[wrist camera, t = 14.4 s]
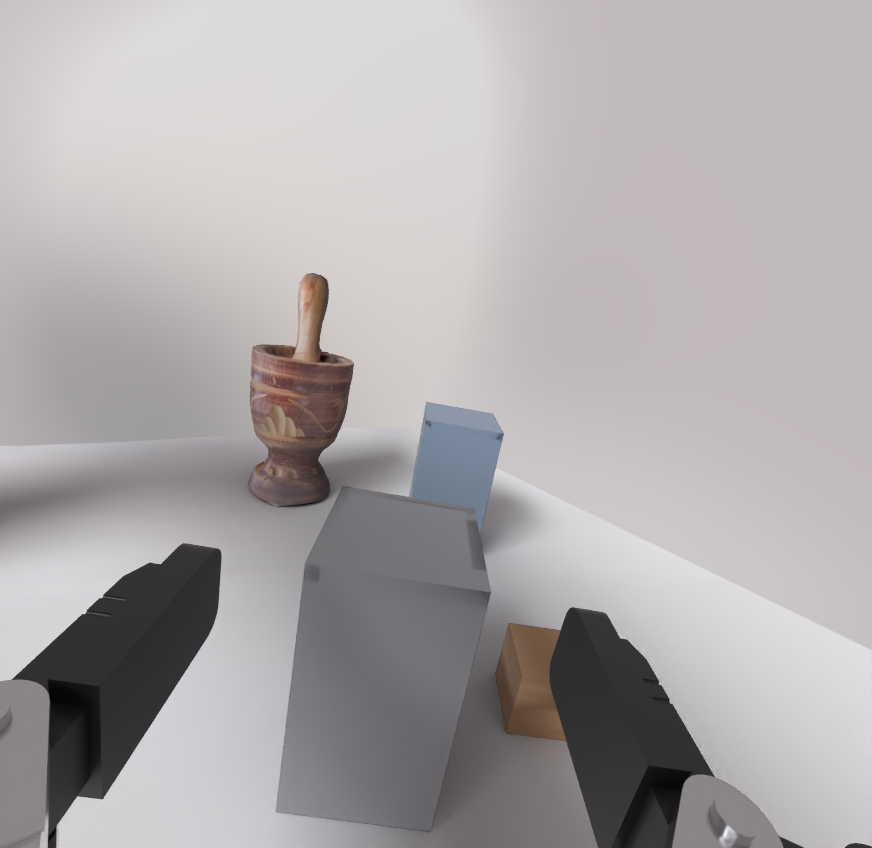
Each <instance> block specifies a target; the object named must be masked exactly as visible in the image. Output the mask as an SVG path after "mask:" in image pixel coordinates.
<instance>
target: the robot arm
mask: <svg viewBox="0 0 872 848" xmlns="http://www.w3.org/2000/svg"><path fill="white" fill-rule="evenodd" d="M220 571H221V551H220V550H219V549H217V548H210V547H204V546H198V545H192V544H186V543H184V544H181V545H180V546H179V547H178V548H177V549H176V550H175V551H174V552H173V553H172V554H171V555H170V556H169V557H168V558H167V559H166V560H165V561H164V562H163V563H162V564H161V565H160V564H154V563H148V564H146V565H144V566H142V567H140V568H139V569H137V570H135V571H133V572H131V573H129V574H127V575H125V576H123V577H122V578H121V579H120V580H119V581H118V582H117V583H116V584H114V585H113V586H112V587H111V588H110V589H109V590H108V591H107V592H106V593H105V594H104V596H103V598H102V599H101V598H99V599H98V600H97V601H96V602H95V603H94V604H93V605H92V606H91V607H90V608H89V609H88V610H87V612H86V614H82V615H81V616H80V617H79V618H78V619H77V620H76V621H75V622H73V623H72V624H71V625H70V626H69V627H68V628H67V629H66V630H65V631H64V632H63V633H62V634H61V635H59V636H58V637H57V638H56V639H55V640H54V641H53V642H52V643H51V644H50V645H49V646H48V647H47V648H45V649H44V650H43V651H42V652H41V653H40V654H39V655H38V656H37V657H36V658H35V659H34V660H32V661H31V662H30V663H29V664H28V665H27V666H26V667H25V668H24V669H23V670H22V671H21V672H20V673H18V674H17V675H16V676H15V677H14V678H13V679H12V680H7V681H0V848H58V840H59V828H58V823H59V822H60V820H61V819H62V817H63V816H64V814H65V813H66V812H67V810H68V809H69V807H70V806H71V804H72V803H73V802H74V800H75V799H76V797H77V796H80V797H88V798H96V799H103V798H104V796H105V795H106V793H107V792H108V790H109V789H110V787H111V786H112V784H113V782H114V781H115V779H116V778H117V776H118V775H119V773H120V772H121V770H122V769H123V767H124V765H125V764H126V762H127V761H128V759H129V758H130V756H131V755H132V753H133V752H134V750H135V748H136V747H137V745H138V744H139V742H140V741H141V739H142V738H143V736H144V735H145V733H146V731H147V730H148V728H149V727H150V725H151V724H152V722H153V721H154V719H155V718H156V716H157V714H158V713H159V711H160V710H161V708H162V707H163V705H164V704H165V702H166V700H167V699H168V697H169V696H170V694H171V693H172V691H173V690H174V688H175V687H176V685H177V683H178V682H179V680H180V679H181V677H182V676H183V674H184V673H185V671H186V670H187V668H188V666H189V665H190V663H191V662H192V660H193V659H194V657H195V656H196V654H197V653H198V651H199V649H200V648H201V646H202V645H203V643H204V642H205V640H206V639H207V637H208V635H209V633H210V631H211V629H212V627H213V624H214V621H215V618H216V615H217V610H218V601H219V586H220ZM549 678H550V687H551V691H552V694H553V698H554V701H555V704H556V708H557V711H558V714H559V718H560V721H561V725H562V728H563V731H564V735H565V738H566V741H567V745H568V748H569V751H570V755H571V758H572V761H573V765H574V768H575V771H576V775H577V778H578V781H579V785H580V788H581V791H582V795H583V798H584V801H585V805H586V808H587V811H588V815H589V818H590V821H591V825H592V828H593V831H594V835H595V838H596V842H597V845H598V848H803V847H801V846H799V845H797V844H795V843H792V842H790V841H788V840H786V839H784V838H782V837H780V836H778V834H777V832H776V831H775V829H774V827H773V826H772V824H771V823H770V822H769V820H768V819H767V818H766V816H765V815H764V814H763V813H762V812H761V811H760V809H759V808H758V807H757V806H756V805H755V804H754V803H753V802H752V801H751V800H750V799H748V798H747V797H746V796H745V795H744V794H743V793H741V792H740V791H739V790H737V789H736V788H734V787H733V786H731V785H730V784H728V783H726V782H724V781H722V780H720V779H718V778H715V777H714V775H713V773H712V772H711V770H710V768H709V766H708V765H707V763H706V761H705V759H704V758H703V756H702V754H701V753H700V751H699V749H698V747H697V746H696V744H695V742H694V741H693V739H692V737H691V735H690V734H689V732H688V730H687V729H686V727H685V725H684V723H683V722H682V720H681V718H680V717H679V715H678V713H677V711H676V710H675V708H674V706H673V704H670V703H669V700H670V699H669V698H668V696H667V694H666V692H665V691H664V689H663V687H662V686H661V685H659V680H658V679H657V677H656V675H655V674H654V672H653V670H652V668H651V667H650V665H649V663H648V661H647V660H646V659H645V658H644V657H643V656H642V655H641V654H640V653H639V651H638V650H637V649H636V648H635V647H634V646H633V645H632V644H631V643H630V642H629V641H628V640H625V639H620V638H619V636H618V634H617V632H616V630H615V628H614V627H613V625H612V623H611V621H610V619H609V617H608V616H607V615H606V614H605V613H604V612H598V611H592V610H586V609H580V608H573V607H572V608H570V609H569V610H568V612H567V614H566V616H565V619H564V622H563V625H562V628H561V631H560V634H559V637H558V640H557V643H556V646H555V649H554V652H553V655H552V658H551V662H550V670H549ZM845 848H872V847H871V846H868V845H864V844H859V843H853V844H849V845H847V846H846V847H845Z"/></svg>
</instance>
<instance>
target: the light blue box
mask: <svg viewBox="0 0 872 848" xmlns="http://www.w3.org/2000/svg"><path fill="white" fill-rule="evenodd" d="M503 435H504V433H503V431H502V429H501V428H500V426H499V424H498V422H497V420H496V418H495V416H494V415H493V414H492V413H485V412H480V411H475V410H469V409H463V408H458V407H451V406H446V405H441V404H434V403H428V402H426V407H425V413H424V418H423V424H422V429H421V434H420V440H419V445H418V451H417V456H416V462H415V467H414V473H413V478H412V484H411V489H410V495H409V497H411V498H417V499H423V500H429V501H435V502H441V503H447V504H453V505H459V506H465V507H471V508H475V513H476V518H477V523H478V529H479V534H480V533H481V528H482V524H483V520H484V516H485V511H486V507H487V503H488V499H489V494H490V490H491V486H492V482H493V477H494V473H495V469H496V465H497V460H498V456H499V452H500V447H501V443H502V439H503Z"/></svg>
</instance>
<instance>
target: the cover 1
mask: <svg viewBox="0 0 872 848" xmlns="http://www.w3.org/2000/svg"><path fill="white" fill-rule="evenodd" d="M490 593H491V591H490V586H489V581H488V576H487V570H486V565H485V560H484V555H483V549H482V544H481V539H480V534H479V529H478V523H477V518H476V513H475V508H471V507H465V506H459V505H453V504H447V503H441V502H435V501H429V500H423V499H417V498H411V497H405V496H399V495H393V494H387V493H381V492H375V491H369V490H363V489H357V488H351V487H345V486H343V487H342V489H341V491H340V493H339V495H338V497H337V499H336V502H335V504H334V506H333V508H332V510H331V512H330V514H329V516H328V518H327V520H326V522H325V524H324V526H323V528H322V530H321V532H320V534H319V536H318V538H317V540H316V542H315V544H314V546H313V548H312V550H311V552H310V554H309V556H308V559H307V561H306V563H305V569H304V577H303V586H302V594H301V603H300V611H299V620H298V628H297V637H296V645H295V653H294V662H293V670H292V679H291V687H290V696H289V704H288V713H287V721H286V730H285V738H284V746H283V755H282V763H281V772H280V780H279V789H278V797H277V806H276V812H280V813H288V814H296V815H304V816H312V817H320V818H327V819H335V820H343V821H351V822H359V823H367V824H375V825H383V826H390V827H398V828H406V829H414V830H422V831H431V827H432V823H433V819H434V815H435V811H436V807H437V803H438V799H439V795H440V791H441V787H442V783H443V780H444V776H445V772H446V768H447V764H448V760H449V756H450V752H451V748H452V744H453V740H454V736H455V732H456V728H457V724H458V720H459V716H460V712H461V708H462V704H463V700H464V696H465V692H466V688H467V684H468V681H469V677H470V673H471V669H472V665H473V661H474V657H475V653H476V649H477V645H478V641H479V637H480V633H481V629H482V625H483V621H484V617H485V613H486V609H487V605H488V601H489V597H490Z"/></svg>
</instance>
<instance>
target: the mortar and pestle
mask: <svg viewBox="0 0 872 848" xmlns="http://www.w3.org/2000/svg"><path fill="white" fill-rule="evenodd" d="M298 294H299V295H298V338H297V345H296V347H293V346H285V345H257V346H253V348H252V368H251V383H250V388H251V391H250V405H251V413H252V418H253V424H254V429H255V433H256V435H257V437H258V438H259V439H260V440H261V441H262V442H263V443H264V444H265V445H266V446H267V447H268V450H269V454H268V458H267V459H266V461H265V462H262V463H260V464H258V465H257V466H256V467H255V469H254V470H253V472H252V474H251V476H250V479H249V483H248V485H249V489H250V491H251V492H252V493H253V494H254V495H256V496H257V497H259V498H261V499H262V500H264V501H266V502H268V503H270V504H272V505H274V506H275V507H278V506H286V505H298V504H305V503H312V502H316V501H318V500H322V499H324V498H325V497H327V495H328V494H329V491H330V484H329V480H328V478H327V476H326V474H325V471H324V469H323V467H322V466H321V464H320V463H319V461H318V458H319V456H320V454H321V452H322V451H323V450H324V449H325V448H327V447H328V446H329V445H331V444H332V443H333V442H334V441H335V439H336V437H337V434H338V432H339V430H340V428H341V425H342V423H343V420H344V417H345V414H346V410H347V404H348V395H349V389H350V384H351V380H352V375H353V366H354V363H353V362H352V361H351V360H349V359H347V358H344V357H341V356H338V355H334V354H329V353H328V352H322V351H321V349H320V346H319V341H320V333H321V328H322V322H323V320H324V316H325V312H326V308H327V304H328V294H329V289H328V282H327V280H326V279H325V278H324V277H323V276H321V275H317V274H315V273H311V274H306V275H305V276H304V277H303V279H302V281H301V283H300V287H299V293H298Z"/></svg>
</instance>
